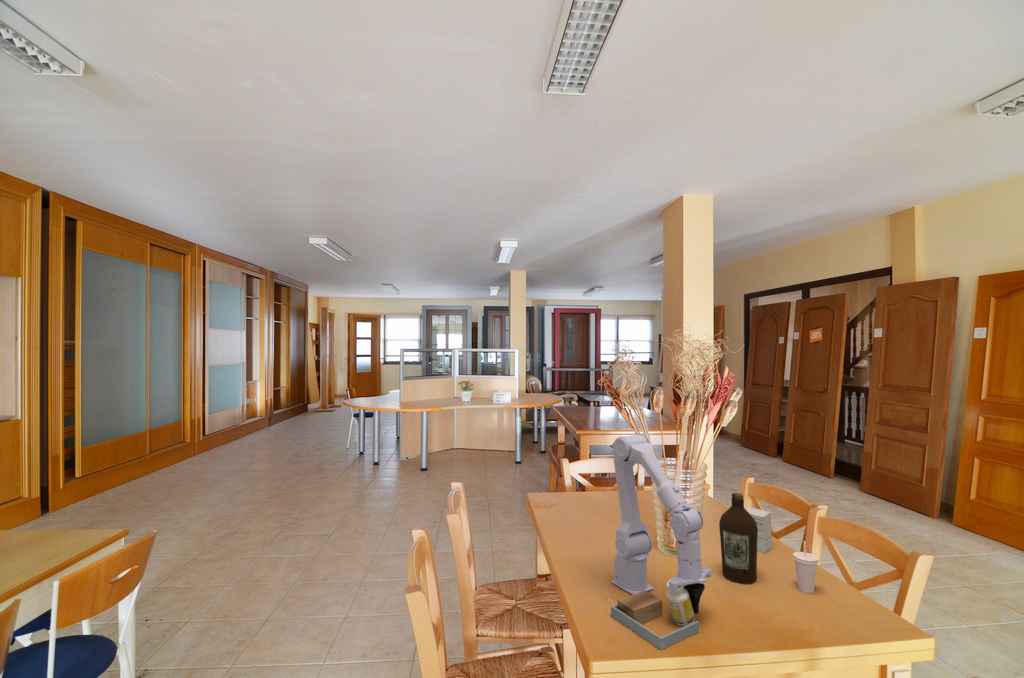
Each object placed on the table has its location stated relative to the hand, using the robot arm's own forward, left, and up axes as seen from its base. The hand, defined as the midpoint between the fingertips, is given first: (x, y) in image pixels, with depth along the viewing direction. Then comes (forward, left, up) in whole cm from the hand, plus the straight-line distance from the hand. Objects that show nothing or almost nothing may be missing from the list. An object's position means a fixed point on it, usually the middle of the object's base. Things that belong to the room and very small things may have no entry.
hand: (693, 612), depth 120 cm
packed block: (-9, -10, -2) cm, 13 cm away
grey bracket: (-4, -10, -2) cm, 11 cm away
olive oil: (-8, +32, -2) cm, 33 cm away
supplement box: (-18, +58, -2) cm, 61 cm away
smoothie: (+7, +41, -2) cm, 42 cm away
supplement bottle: (-1, -2, -2) cm, 3 cm away
